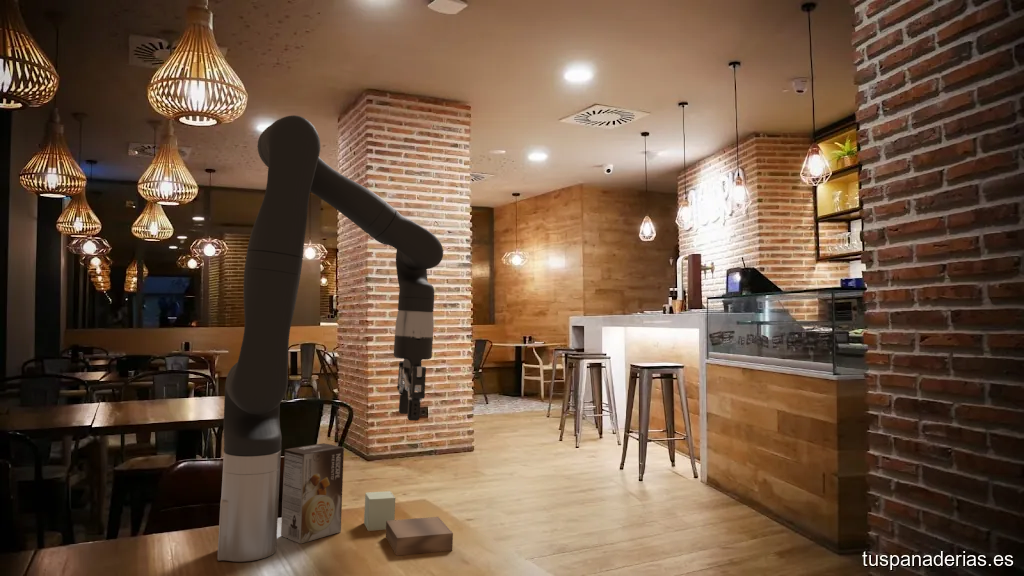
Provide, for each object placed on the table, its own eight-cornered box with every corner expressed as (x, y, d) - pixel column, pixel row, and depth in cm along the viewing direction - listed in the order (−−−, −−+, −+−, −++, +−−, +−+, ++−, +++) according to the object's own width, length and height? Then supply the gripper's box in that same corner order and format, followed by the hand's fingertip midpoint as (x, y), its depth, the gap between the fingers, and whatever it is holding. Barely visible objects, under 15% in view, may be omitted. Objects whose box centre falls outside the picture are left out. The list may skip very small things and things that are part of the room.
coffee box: (320, 525, 130) (324, 442, 131) (341, 532, 126) (345, 447, 127) (279, 536, 123) (283, 448, 123) (300, 544, 119) (304, 453, 120)
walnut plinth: (396, 555, 115) (397, 537, 115) (385, 537, 125) (386, 520, 125) (452, 550, 119) (453, 533, 119) (437, 532, 128) (438, 516, 128)
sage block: (368, 531, 128) (369, 499, 128) (364, 523, 133) (365, 492, 133) (394, 528, 130) (395, 497, 130) (389, 521, 134) (390, 491, 135)
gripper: (388, 332, 138) (383, 411, 137) (402, 334, 124) (396, 422, 123) (424, 334, 140) (419, 411, 139) (441, 336, 127) (436, 422, 126)
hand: (408, 416), depth 131 cm, fingers open, 8 cm apart
